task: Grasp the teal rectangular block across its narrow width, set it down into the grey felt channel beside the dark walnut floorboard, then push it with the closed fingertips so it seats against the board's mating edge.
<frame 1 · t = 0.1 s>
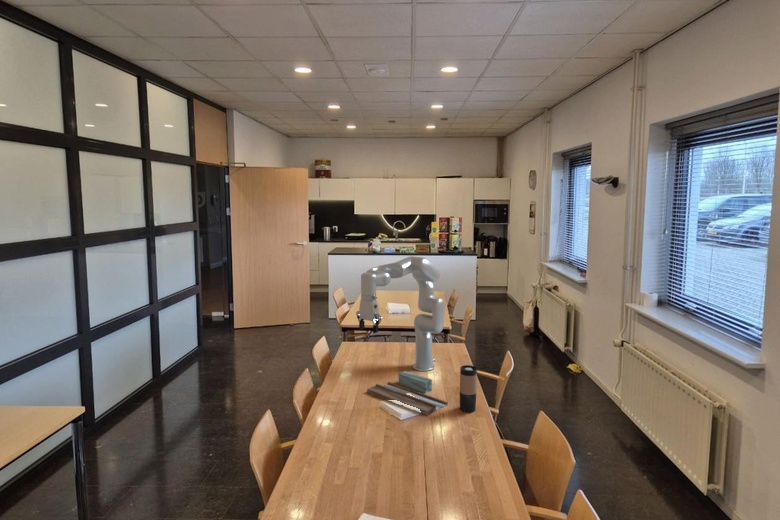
hand: (368, 330, 241), 31 cm above the table, fingers open, 9 cm apart
travel mug: (467, 409, 222), on the table
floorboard: (410, 396, 237), on the table
teal rectangular block: (414, 387, 249), on the table
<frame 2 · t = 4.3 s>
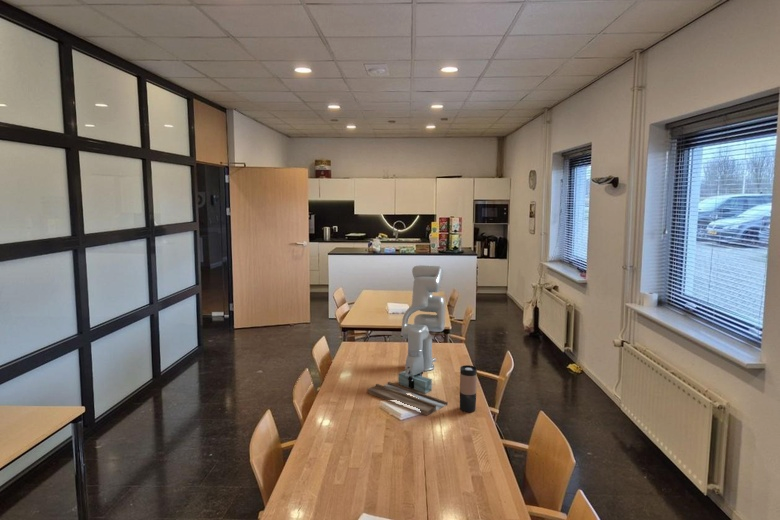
hand: (414, 385, 248), 1 cm above the table, fingers closed on teal rectangular block, 5 cm apart
teal rectangular block: (414, 387, 249), on the table, touching gripper
everything else where it was.
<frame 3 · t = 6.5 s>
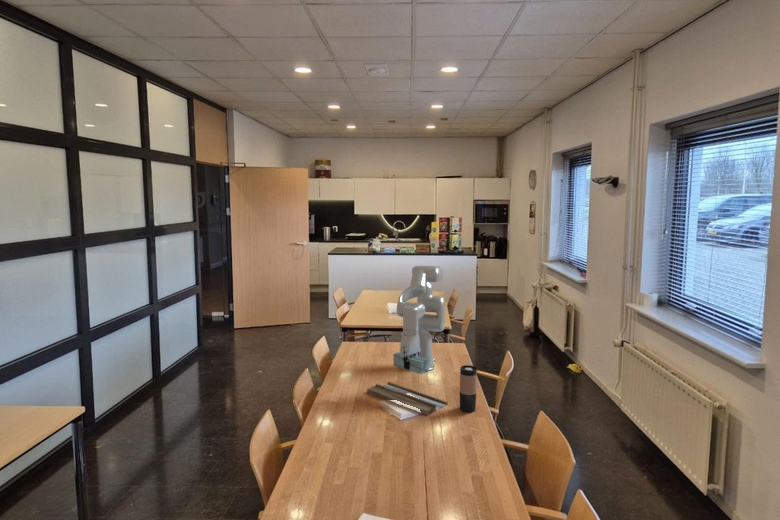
hand: (410, 367, 235), 15 cm above the table, fingers closed on teal rectangular block, 5 cm apart
teal rectangular block: (410, 368, 235), point 14 cm above the table, touching gripper
everything else where it was.
when the fingers open (2 cm above the table, at t = 9.2 s): teal rectangular block drops 1 cm, resting on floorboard.
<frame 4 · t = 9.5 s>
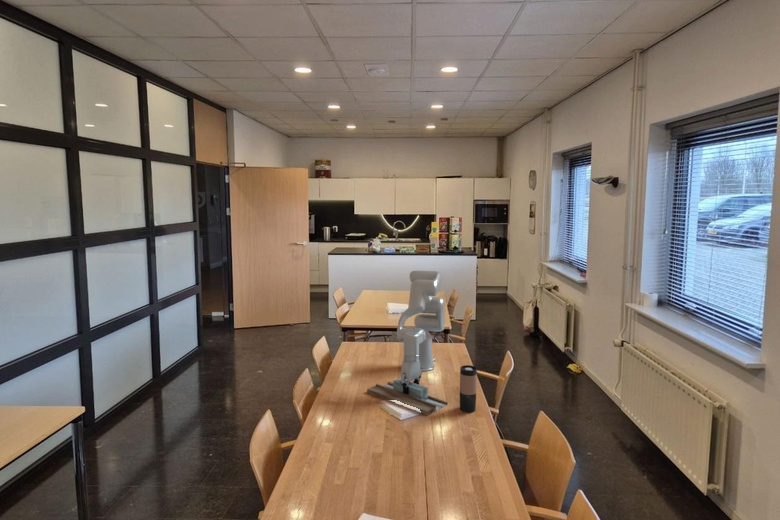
hand: (411, 391, 237), 3 cm above the table, fingers open, 7 cm apart
teal rectangular block: (410, 395, 237), resting on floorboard
everything else where it was.
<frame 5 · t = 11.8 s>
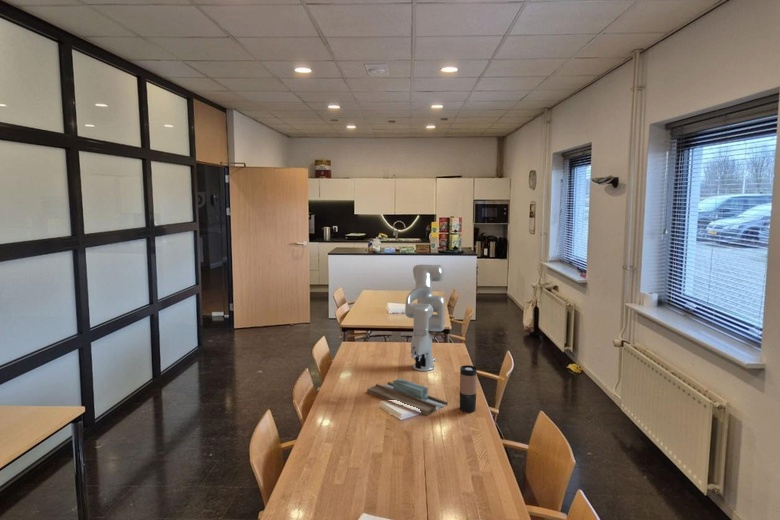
hand: (420, 366, 241), 13 cm above the table, fingers open, 3 cm apart
nothing on the table moved.
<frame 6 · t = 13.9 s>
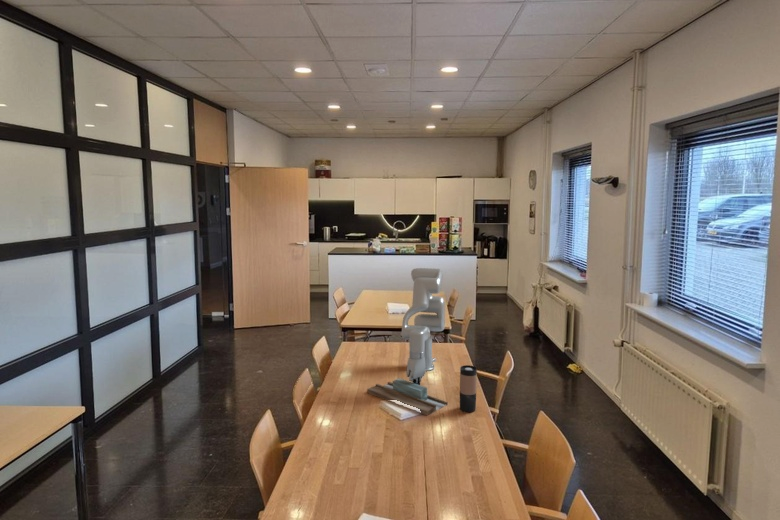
hand: (416, 389, 240), 2 cm above the table, fingers closed
teal rectangular block: (409, 395, 237), resting on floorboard, touching gripper
everything else where it was.
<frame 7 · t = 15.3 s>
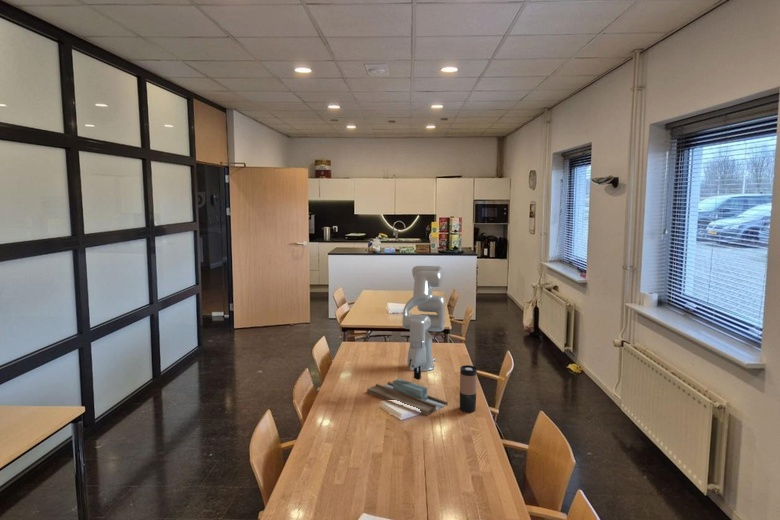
hand: (417, 378, 241), 7 cm above the table, fingers closed
teal rectangular block: (409, 396, 237), resting on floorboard
everything else where it was.
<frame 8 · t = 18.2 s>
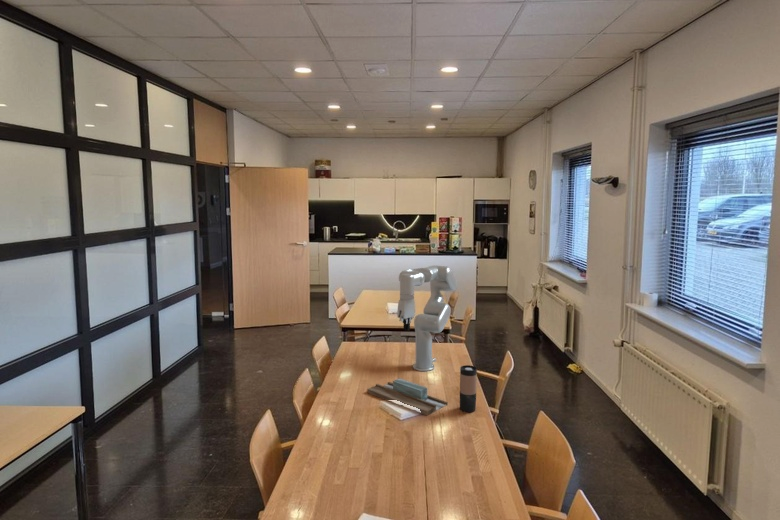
hand: (406, 330, 257), 27 cm above the table, fingers closed
nothing on the table moved.
at the end: teal rectangular block inside the target area (0.9 cm from its centre), resting on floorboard; teal rectangular block tilted 0°; the gripper is holding nothing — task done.
